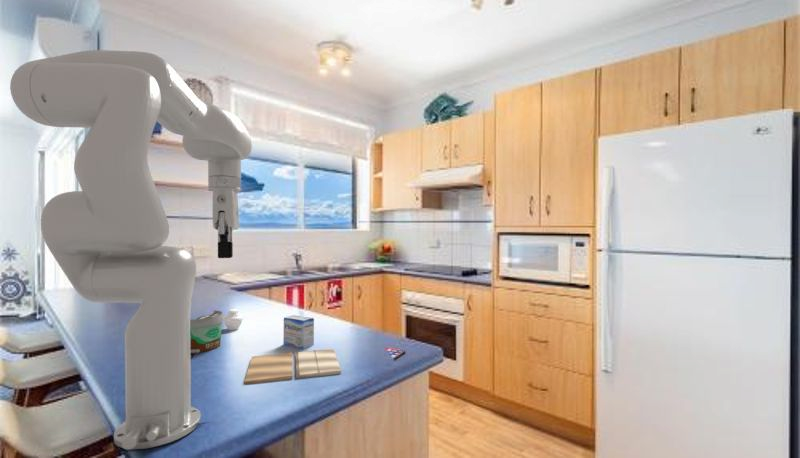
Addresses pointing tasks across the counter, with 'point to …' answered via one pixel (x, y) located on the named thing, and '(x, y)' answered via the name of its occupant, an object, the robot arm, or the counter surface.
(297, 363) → the board
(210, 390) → the counter surface
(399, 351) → the smartphone
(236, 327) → the white rounded piece
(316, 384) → the counter surface
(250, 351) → the counter surface
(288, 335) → the medicine box
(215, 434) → the counter surface
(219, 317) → the food container
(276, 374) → the click plank
